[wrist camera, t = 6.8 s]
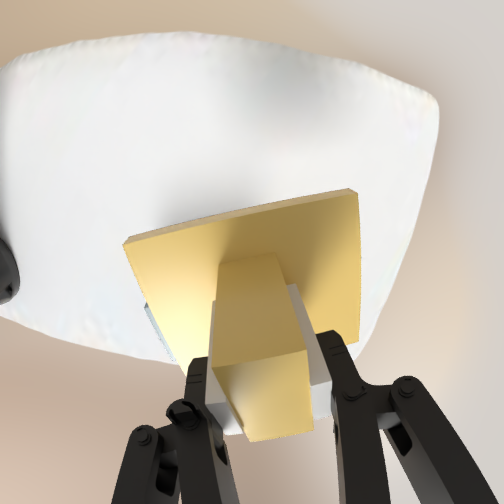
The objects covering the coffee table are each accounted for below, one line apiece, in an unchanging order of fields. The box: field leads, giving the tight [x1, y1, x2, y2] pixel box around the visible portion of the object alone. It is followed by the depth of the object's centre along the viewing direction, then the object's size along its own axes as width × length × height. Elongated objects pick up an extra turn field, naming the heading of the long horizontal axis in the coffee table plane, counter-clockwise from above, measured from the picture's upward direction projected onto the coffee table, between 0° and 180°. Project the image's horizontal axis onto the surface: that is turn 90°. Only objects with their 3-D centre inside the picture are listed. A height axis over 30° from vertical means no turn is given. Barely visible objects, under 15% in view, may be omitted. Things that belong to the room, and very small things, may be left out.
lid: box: [123, 188, 361, 442], centre depth 13 cm, size 13×11×9 cm
